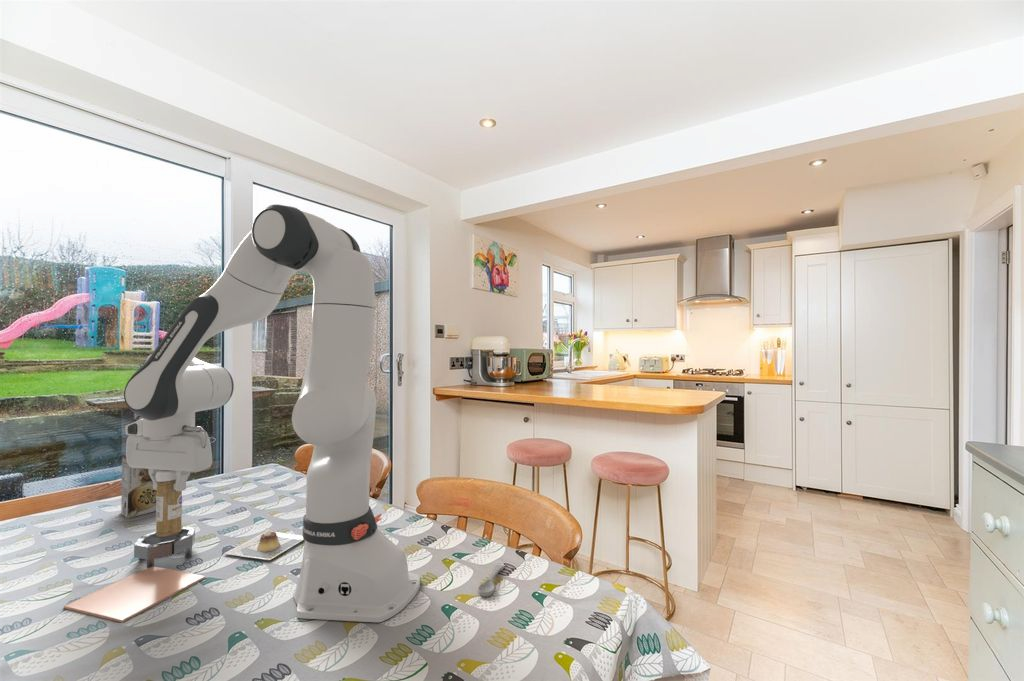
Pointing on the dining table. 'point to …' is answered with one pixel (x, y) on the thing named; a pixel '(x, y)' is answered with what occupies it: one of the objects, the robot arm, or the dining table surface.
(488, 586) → the spoon
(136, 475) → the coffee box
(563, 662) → the dining table surface
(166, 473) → the sprinkles bottle
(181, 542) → the ring stand
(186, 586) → the copper sheet
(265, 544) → the dessert
